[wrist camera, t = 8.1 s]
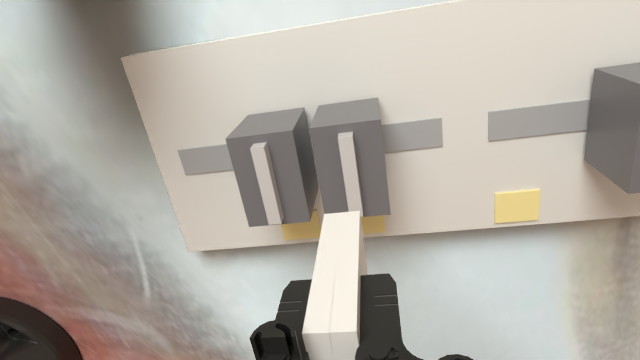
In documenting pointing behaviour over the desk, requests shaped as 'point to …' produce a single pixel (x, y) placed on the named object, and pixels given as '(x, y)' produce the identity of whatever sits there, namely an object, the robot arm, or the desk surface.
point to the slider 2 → (350, 157)
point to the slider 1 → (274, 167)
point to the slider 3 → (615, 125)
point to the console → (402, 113)
